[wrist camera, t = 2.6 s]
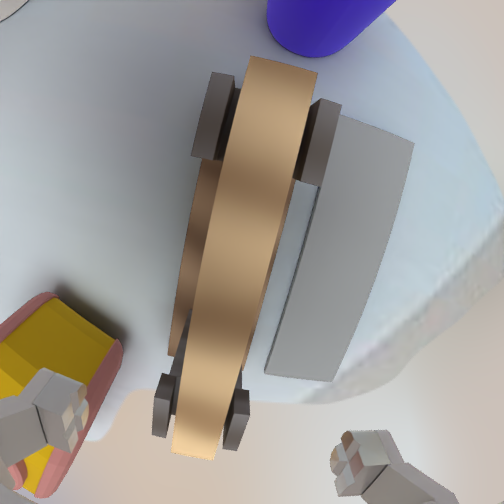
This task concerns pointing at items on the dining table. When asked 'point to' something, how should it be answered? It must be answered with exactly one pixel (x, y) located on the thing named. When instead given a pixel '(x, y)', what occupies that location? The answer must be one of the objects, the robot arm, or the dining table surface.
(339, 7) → the bottle
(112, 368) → the alarm clock
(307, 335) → the mat
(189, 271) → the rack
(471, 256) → the dining table surface
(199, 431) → the rail
